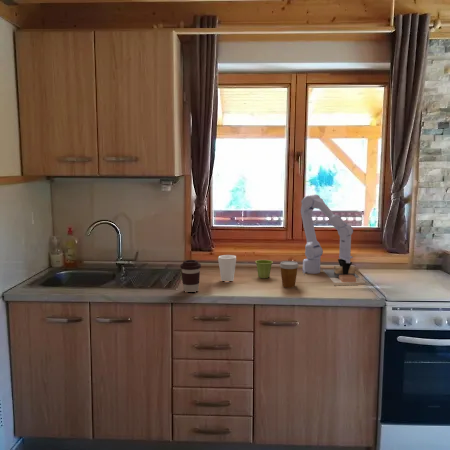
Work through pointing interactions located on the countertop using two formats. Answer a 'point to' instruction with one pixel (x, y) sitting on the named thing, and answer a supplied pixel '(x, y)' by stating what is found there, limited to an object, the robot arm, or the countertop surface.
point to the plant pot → (263, 268)
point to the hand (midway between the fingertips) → (344, 273)
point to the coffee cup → (190, 275)
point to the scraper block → (339, 270)
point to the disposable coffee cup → (288, 273)
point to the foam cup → (227, 267)
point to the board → (337, 280)
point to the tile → (347, 278)
